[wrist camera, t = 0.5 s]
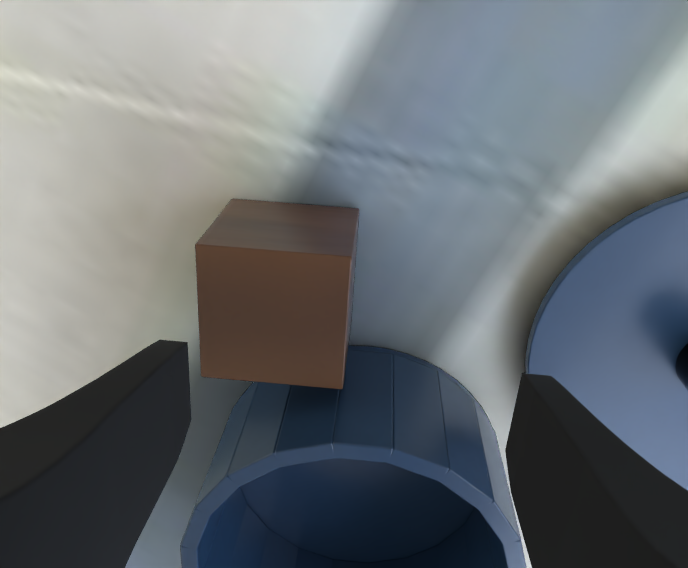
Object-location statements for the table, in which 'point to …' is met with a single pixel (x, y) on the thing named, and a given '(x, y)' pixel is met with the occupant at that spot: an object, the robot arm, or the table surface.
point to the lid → (626, 332)
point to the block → (277, 292)
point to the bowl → (357, 476)
